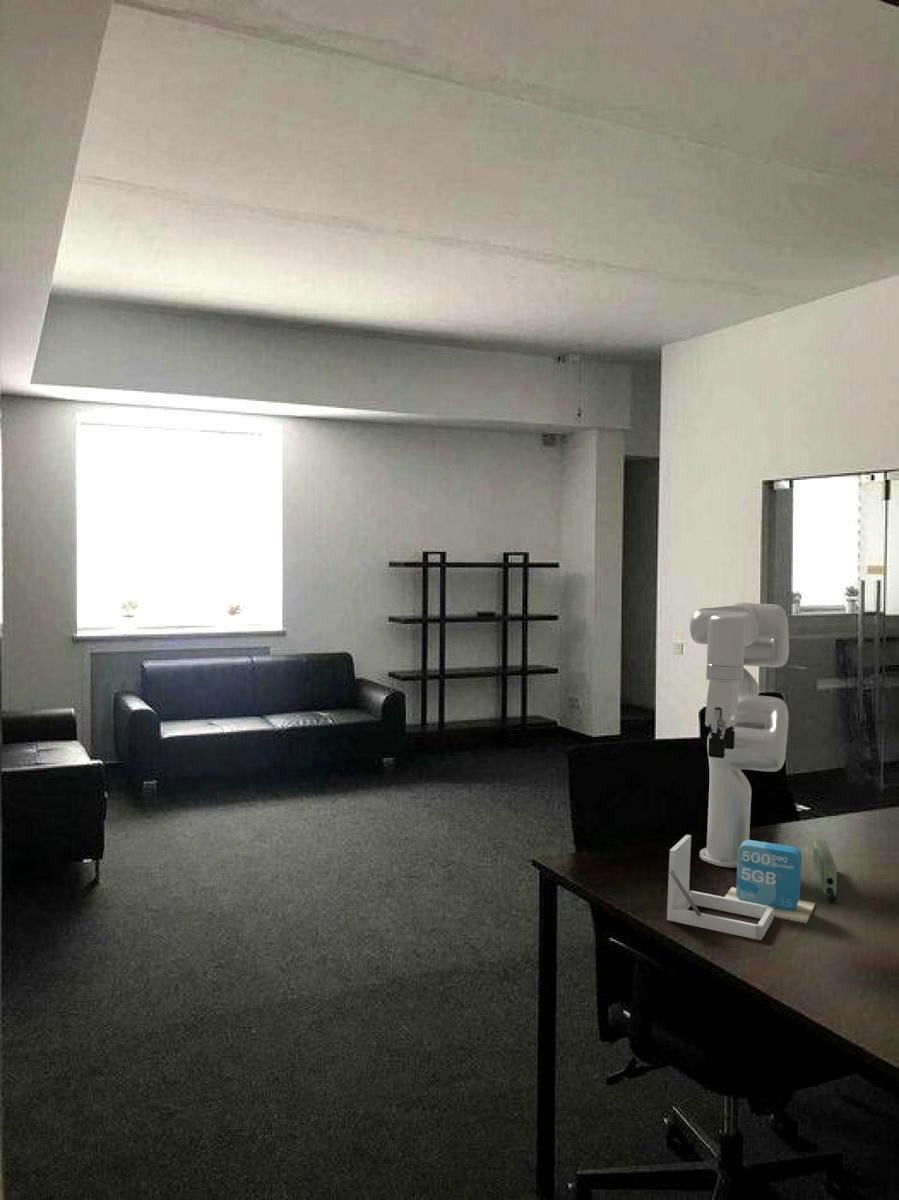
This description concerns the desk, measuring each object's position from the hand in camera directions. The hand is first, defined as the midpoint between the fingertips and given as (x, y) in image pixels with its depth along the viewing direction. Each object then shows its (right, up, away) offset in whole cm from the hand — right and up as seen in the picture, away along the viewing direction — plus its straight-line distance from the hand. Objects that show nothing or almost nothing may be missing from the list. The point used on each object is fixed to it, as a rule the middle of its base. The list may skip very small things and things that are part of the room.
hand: (721, 752), depth 205 cm
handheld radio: (+25, -31, +7) cm, 40 cm away
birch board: (+8, -31, -6) cm, 32 cm away
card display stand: (-4, -31, -15) cm, 34 cm away
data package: (+8, -30, -6) cm, 32 cm away
